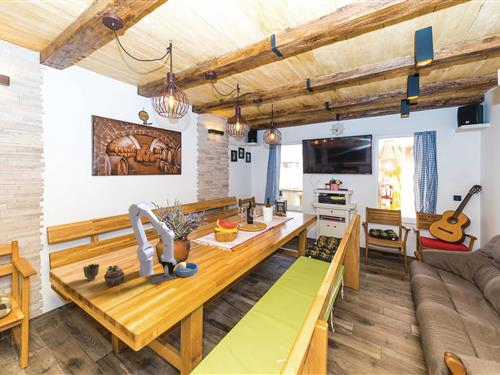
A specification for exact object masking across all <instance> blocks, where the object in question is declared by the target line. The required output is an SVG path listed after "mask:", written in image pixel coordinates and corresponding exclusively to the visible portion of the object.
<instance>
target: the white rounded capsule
mask: <svg viewBox="0 0 500 375" xmlns="http://www.w3.org/2000/svg"><path fill="white" fill-rule="evenodd" d="M186 263H187V262H185V261H181V262H179V263H178V265H179V270H180V271H186Z"/></svg>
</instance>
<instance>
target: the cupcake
mask: <svg viewBox="0 0 500 375" xmlns="http://www.w3.org/2000/svg"><path fill="white" fill-rule="evenodd" d="M124 276H125V272H124V271H123V269H122V268H120V266H118V265H110V266H108V267H107V271H106V272H105V274H104V276H103V278H104V282H105V285H106V287H108V288H111V287H117V286H119V285H121V284H122V283H123V282H124Z"/></svg>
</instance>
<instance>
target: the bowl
mask: <svg viewBox="0 0 500 375" xmlns="http://www.w3.org/2000/svg"><path fill="white" fill-rule="evenodd" d="M185 263H186V271H180V270H179V264H176V266H175V268H174V270H175V271H174V274H175V276H177V277H182V278H185V277H186V278H187V277H188V278H189V277H192V276H195V275H196V274H197V273H198V272H199V265H198V264H197V263H195V262H188V261H187V262H185Z"/></svg>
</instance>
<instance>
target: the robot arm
mask: <svg viewBox="0 0 500 375" xmlns="http://www.w3.org/2000/svg"><path fill="white" fill-rule="evenodd" d="M128 214H129V221H130V224H131V228H132V231H133V233H134V236H135V240H136V242H137V249H136V254H137V255H136V258H137V260H138V261H139V270H138V273H139V278H142V277H147V276H150V275H154V274H155V271H154V265H153V264H154V263H153V261H154V256H155V254H156V249H155V248H154V246H153V245H152V243H150V242H149V241H148V239H147V235H146V232H145V230H144V225H143V223H142V220H141V218H142V217H146V219H148V220H149V222H151V223H152V225H154V226H153V229H154V230H155V231H156V233H158V234H159V235H160V236H161V237H160V238H161V242H162V244H163V245H162V247H163V248H162V249H163V250H162V251H163V252H162V255H160V259H161V260H159V262H160V263H161V266H162V268H163V272H165V266H166V265H167V267H168V272H169V275H171V274H173V272H175V271H174V270H175V268H176V266H177V265H178V264H177V260H176V259H175V257H174V239H175V238H176V233H175V231H174V230H172V229H170V228H169V227H168V226H167V225H166V223H165V222H163V221H160V220H159V219H158V218H157V216H156V215H155V214H154V213H153V211H152V209H151V207H150V206H149V205H148V203H147V202H145V201H144V202H143V201H142V202H138V203H132V204H131V205H130V206H129V208H128Z"/></svg>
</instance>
